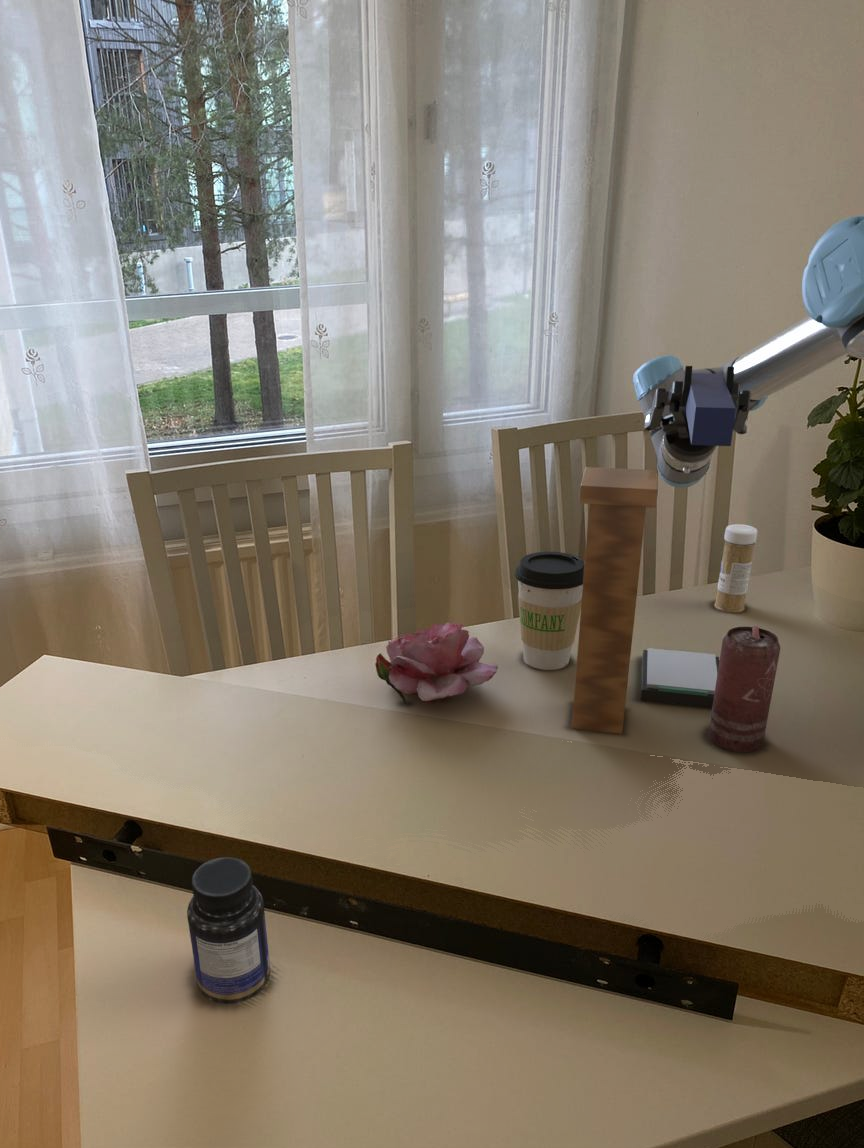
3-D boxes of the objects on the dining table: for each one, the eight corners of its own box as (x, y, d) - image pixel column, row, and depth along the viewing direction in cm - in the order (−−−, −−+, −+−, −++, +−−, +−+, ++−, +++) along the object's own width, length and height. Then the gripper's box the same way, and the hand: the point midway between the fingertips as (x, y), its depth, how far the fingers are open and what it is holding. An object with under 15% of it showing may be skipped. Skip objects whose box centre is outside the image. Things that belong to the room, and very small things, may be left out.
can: (759, 731, 110) (778, 626, 104) (764, 758, 105) (784, 649, 99) (706, 725, 112) (722, 621, 106) (708, 752, 106) (725, 644, 100)
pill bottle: (215, 947, 80) (202, 845, 75) (281, 958, 78) (271, 855, 74) (185, 1001, 74) (168, 895, 70) (255, 1014, 73) (243, 907, 68)
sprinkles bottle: (711, 603, 146) (722, 523, 140) (740, 604, 145) (753, 523, 140) (717, 615, 142) (730, 532, 136) (748, 615, 141) (761, 532, 136)
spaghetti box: (717, 405, 115) (721, 373, 114) (730, 446, 96) (736, 408, 94) (684, 405, 116) (688, 372, 115) (691, 445, 97) (695, 407, 95)
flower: (522, 675, 119) (501, 605, 116) (446, 730, 110) (422, 656, 107) (443, 668, 130) (422, 605, 127) (370, 717, 122) (346, 651, 119)
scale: (716, 669, 125) (719, 652, 124) (722, 712, 115) (725, 693, 114) (641, 662, 128) (643, 645, 127) (640, 703, 117) (642, 685, 116)
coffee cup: (498, 654, 131) (502, 555, 125) (558, 642, 134) (565, 546, 128) (532, 683, 123) (538, 580, 116) (595, 670, 126) (604, 569, 119)
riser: (631, 709, 116) (658, 470, 102) (630, 742, 109) (658, 489, 96) (568, 702, 118) (585, 466, 104) (562, 734, 111) (580, 485, 98)
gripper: (752, 466, 128) (784, 410, 105) (626, 461, 132) (631, 406, 109) (756, 414, 128) (789, 347, 106) (631, 410, 132) (637, 345, 110)
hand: (709, 377), depth 107 cm, fingers closed on spaghetti box, 4 cm apart
